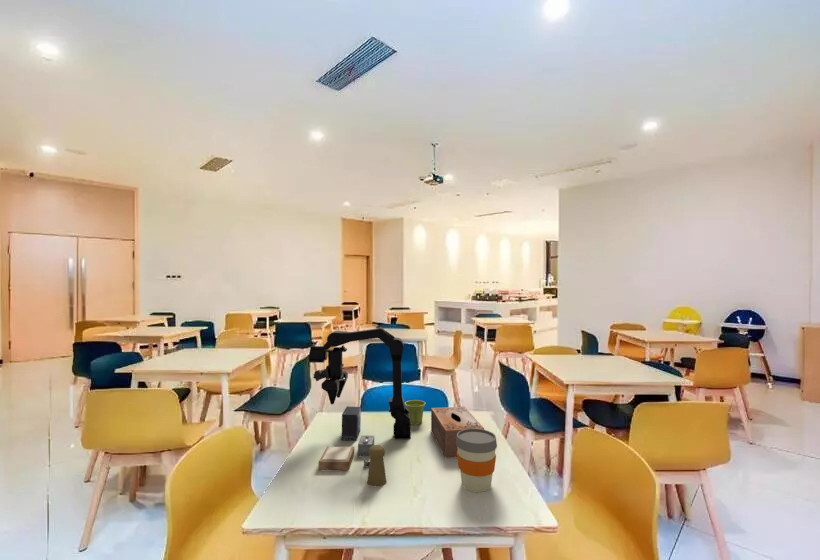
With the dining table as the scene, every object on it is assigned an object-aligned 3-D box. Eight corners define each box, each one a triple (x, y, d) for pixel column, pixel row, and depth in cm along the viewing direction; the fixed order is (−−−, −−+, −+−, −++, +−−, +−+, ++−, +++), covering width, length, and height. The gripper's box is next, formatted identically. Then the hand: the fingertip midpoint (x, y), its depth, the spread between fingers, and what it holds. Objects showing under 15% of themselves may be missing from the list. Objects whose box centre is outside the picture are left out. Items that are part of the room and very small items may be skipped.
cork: (371, 488, 118) (371, 452, 118) (364, 479, 123) (364, 444, 123) (389, 483, 121) (389, 448, 121) (381, 475, 126) (381, 441, 126)
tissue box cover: (484, 456, 141) (484, 428, 141) (445, 458, 139) (445, 430, 139) (464, 430, 166) (464, 406, 166) (431, 431, 164) (431, 408, 164)
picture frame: (354, 454, 141) (354, 445, 141) (348, 470, 129) (348, 460, 129) (326, 454, 141) (326, 445, 141) (318, 470, 129) (318, 460, 129)
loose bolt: (380, 462, 135) (380, 456, 135) (381, 465, 133) (381, 459, 133) (363, 465, 133) (363, 458, 133) (365, 468, 131) (365, 461, 131)
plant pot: (403, 425, 171) (403, 405, 171) (406, 418, 180) (406, 399, 180) (424, 426, 169) (424, 406, 169) (426, 419, 179) (426, 400, 179)
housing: (374, 447, 148) (374, 433, 148) (371, 456, 140) (371, 442, 140) (361, 447, 148) (361, 433, 148) (358, 456, 140) (358, 442, 140)
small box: (357, 441, 154) (357, 414, 154) (340, 440, 154) (341, 414, 154) (361, 431, 164) (361, 406, 164) (345, 430, 164) (346, 405, 164)
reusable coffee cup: (467, 470, 129) (467, 425, 129) (503, 481, 122) (503, 433, 122) (448, 486, 119) (448, 437, 119) (486, 499, 112) (486, 447, 112)
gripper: (322, 358, 169) (322, 394, 169) (308, 367, 150) (308, 407, 150) (348, 358, 168) (348, 394, 168) (336, 367, 149) (336, 408, 149)
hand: (335, 400), depth 159 cm, fingers open, 9 cm apart
